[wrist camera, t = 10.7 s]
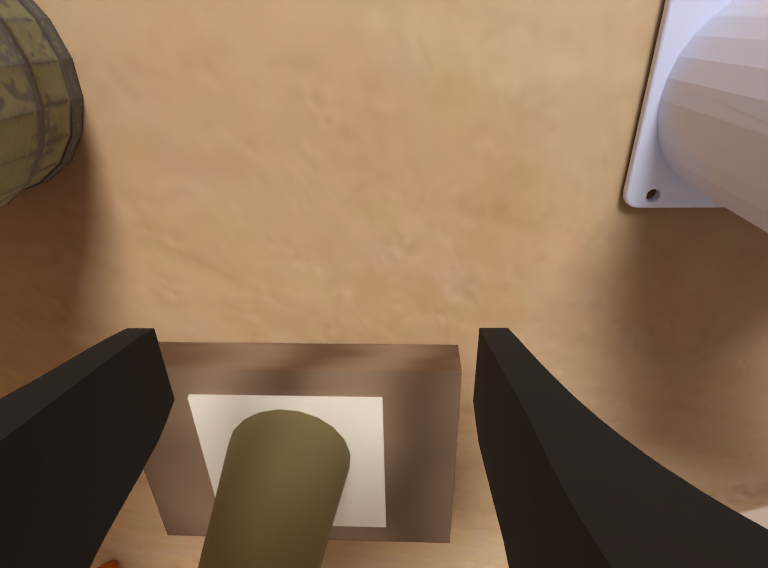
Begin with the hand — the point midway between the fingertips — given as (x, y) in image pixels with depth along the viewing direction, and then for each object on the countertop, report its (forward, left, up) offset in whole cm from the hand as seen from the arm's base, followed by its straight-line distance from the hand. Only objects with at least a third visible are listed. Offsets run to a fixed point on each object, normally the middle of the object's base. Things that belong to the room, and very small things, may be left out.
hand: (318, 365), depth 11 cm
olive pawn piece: (+4, +12, -8) cm, 15 cm away
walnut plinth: (+4, +13, -10) cm, 17 cm away
